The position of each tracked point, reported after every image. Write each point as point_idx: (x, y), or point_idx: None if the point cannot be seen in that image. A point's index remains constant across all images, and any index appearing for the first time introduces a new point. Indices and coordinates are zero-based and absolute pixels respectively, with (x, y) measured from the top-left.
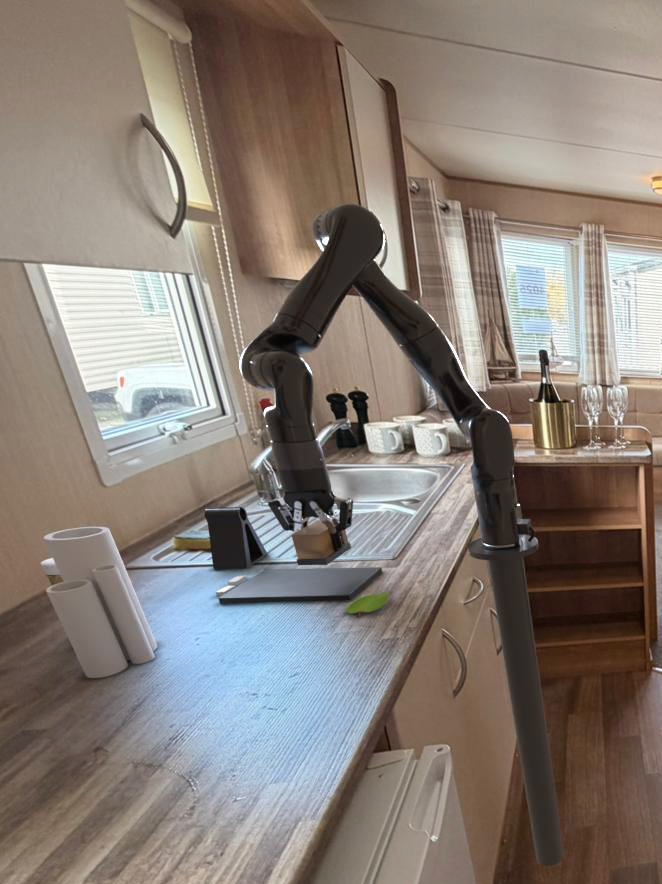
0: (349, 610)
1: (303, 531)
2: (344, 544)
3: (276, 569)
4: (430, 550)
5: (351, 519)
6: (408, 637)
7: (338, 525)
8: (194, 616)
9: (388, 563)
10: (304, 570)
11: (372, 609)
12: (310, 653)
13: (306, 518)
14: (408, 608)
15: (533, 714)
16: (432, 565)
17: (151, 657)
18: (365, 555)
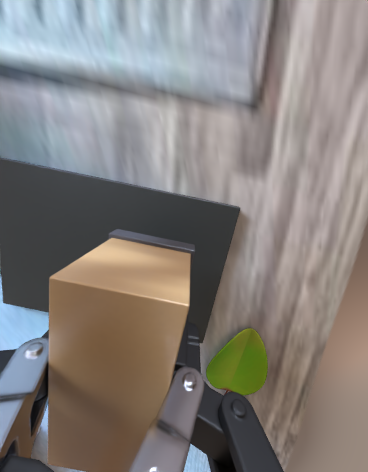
0: (210, 378)
1: (71, 437)
2: (197, 330)
3: (17, 165)
4: (353, 33)
5: (271, 452)
6: (289, 455)
7: (204, 448)
8: (7, 332)
9: (244, 139)
10: (80, 188)
11: (244, 392)
12: (190, 457)
13: (21, 438)
14: (289, 383)
15: None
16: (344, 183)
17: (38, 432)
18: (177, 44)
